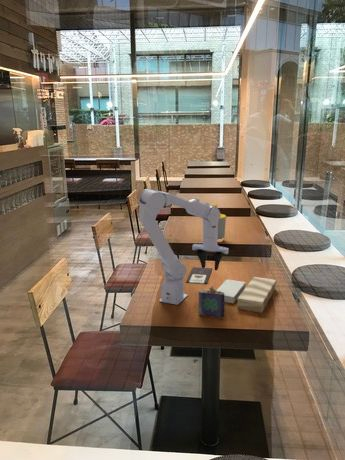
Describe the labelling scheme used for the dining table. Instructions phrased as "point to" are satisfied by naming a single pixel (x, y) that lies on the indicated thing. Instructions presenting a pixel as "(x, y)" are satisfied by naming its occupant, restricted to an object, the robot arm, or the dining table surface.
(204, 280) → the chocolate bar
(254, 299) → the striped cream block
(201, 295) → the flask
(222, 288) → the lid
